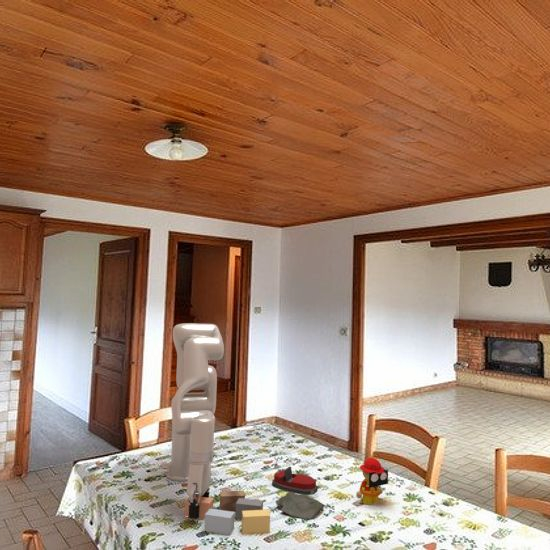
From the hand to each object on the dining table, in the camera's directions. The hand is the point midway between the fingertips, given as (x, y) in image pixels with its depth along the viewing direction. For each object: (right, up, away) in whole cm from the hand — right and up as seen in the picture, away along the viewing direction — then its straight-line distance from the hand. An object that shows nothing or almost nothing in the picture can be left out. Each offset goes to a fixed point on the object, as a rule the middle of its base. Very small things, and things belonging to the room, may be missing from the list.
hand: (199, 510), depth 142 cm
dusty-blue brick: (+8, -1, -9) cm, 12 cm away
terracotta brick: (0, -2, 0) cm, 2 cm away
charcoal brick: (+16, -2, -1) cm, 16 cm away
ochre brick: (+18, -2, -8) cm, 20 cm away
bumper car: (+30, -5, +25) cm, 40 cm away
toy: (+58, -4, +13) cm, 60 cm away
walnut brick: (+10, -2, +5) cm, 12 cm away
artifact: (+32, -3, +7) cm, 33 cm away
